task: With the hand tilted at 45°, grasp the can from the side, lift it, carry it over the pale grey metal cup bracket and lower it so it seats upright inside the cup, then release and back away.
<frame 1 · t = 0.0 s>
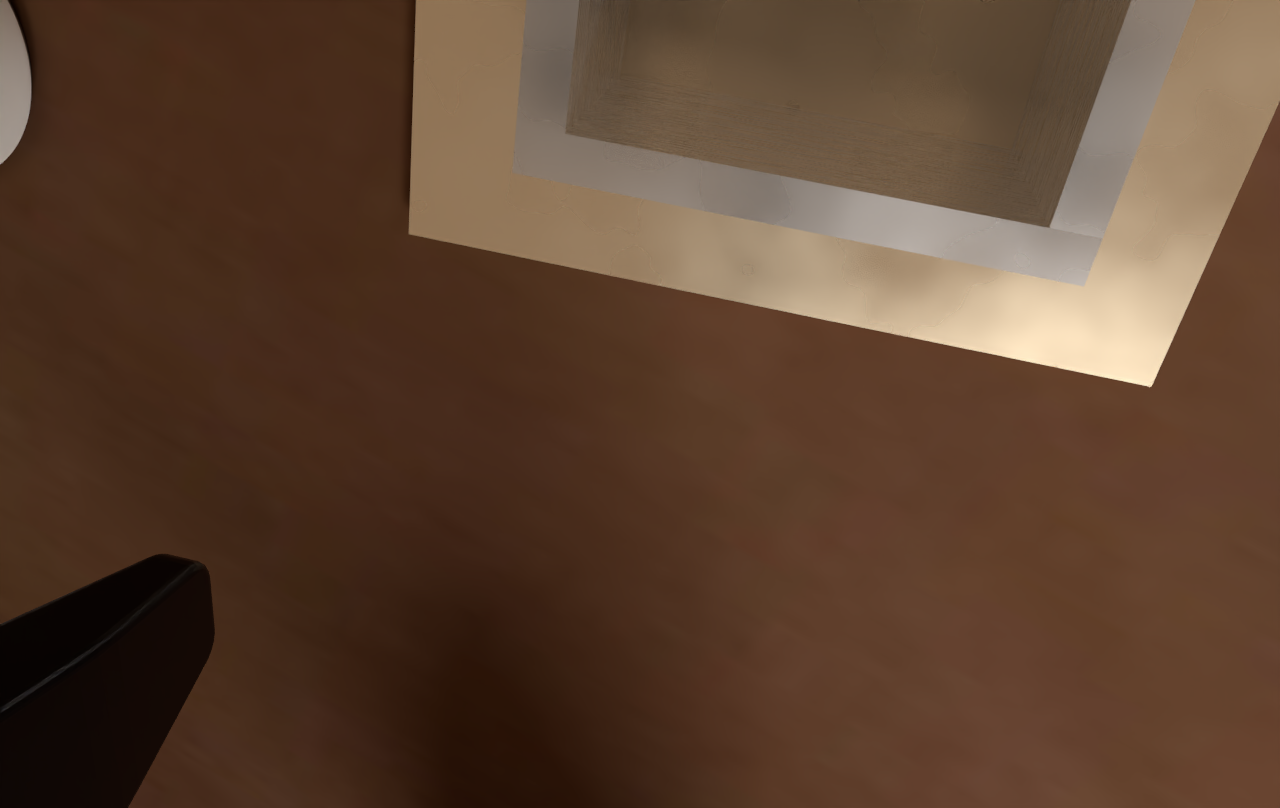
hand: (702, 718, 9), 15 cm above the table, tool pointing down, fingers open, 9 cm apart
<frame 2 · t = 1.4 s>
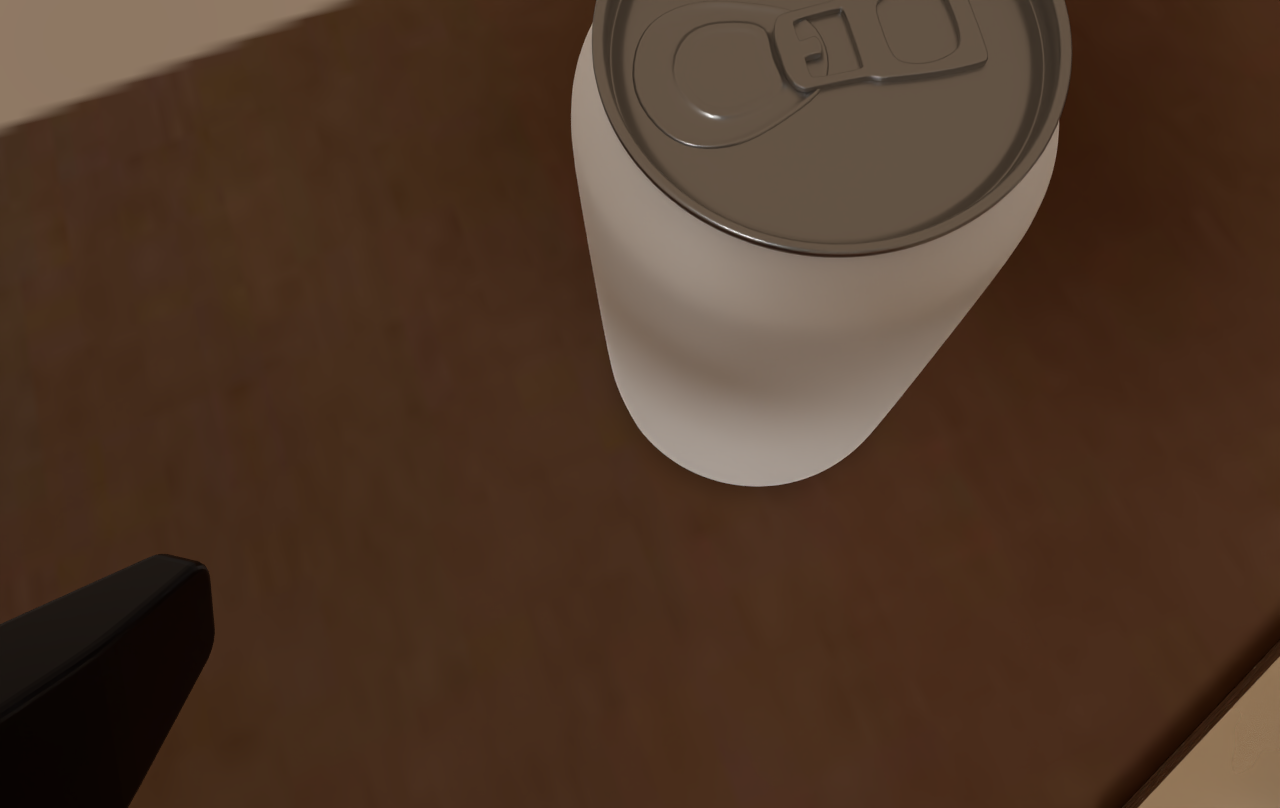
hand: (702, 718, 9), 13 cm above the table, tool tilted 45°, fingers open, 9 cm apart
can: (751, 354, 24), on the table
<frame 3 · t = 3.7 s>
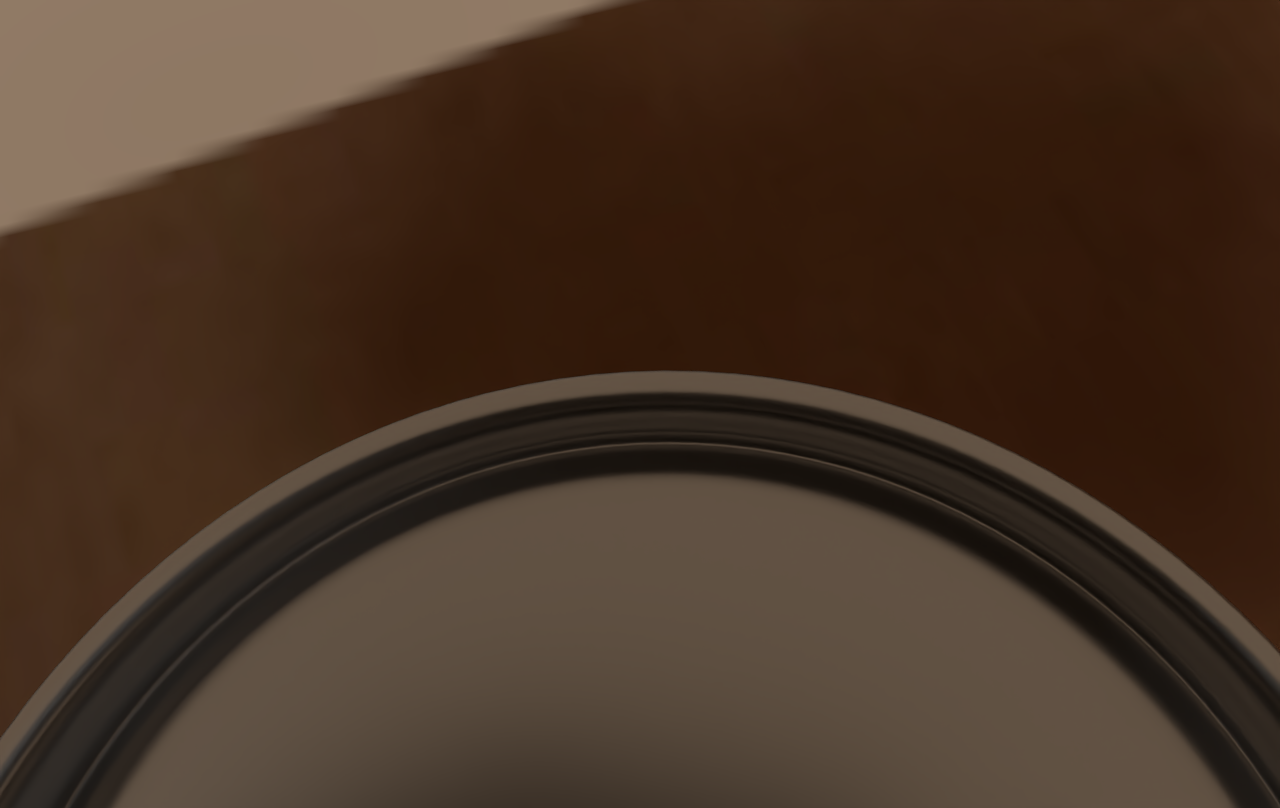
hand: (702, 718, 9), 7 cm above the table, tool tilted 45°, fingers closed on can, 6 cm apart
can: (669, 804, 15), on the table, touching gripper
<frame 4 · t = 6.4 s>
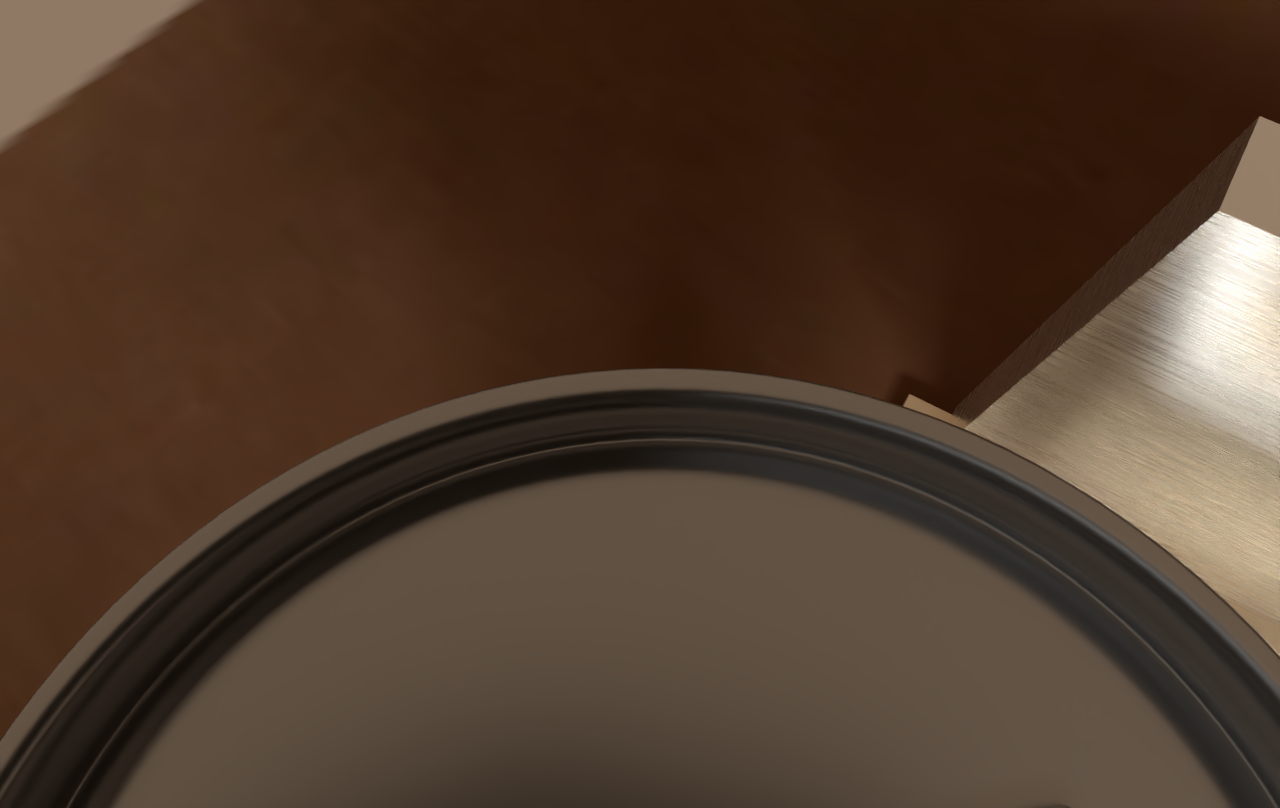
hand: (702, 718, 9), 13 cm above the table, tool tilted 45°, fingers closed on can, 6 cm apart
can: (678, 801, 15), point 6 cm above the table, touching gripper
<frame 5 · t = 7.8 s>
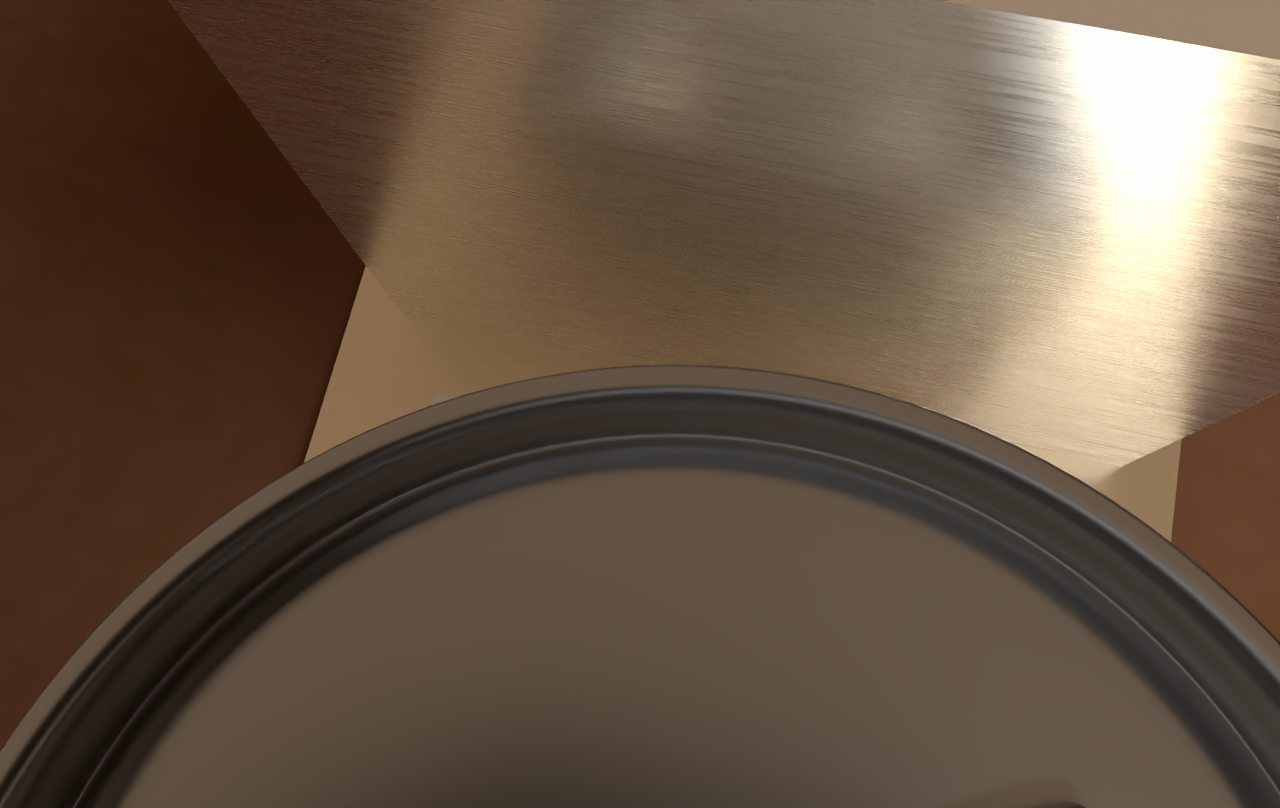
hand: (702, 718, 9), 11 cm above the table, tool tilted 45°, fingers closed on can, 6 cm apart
cup bracket: (672, 761, 19), on the table
can: (681, 800, 15), point 4 cm above the table, touching gripper
when the fingers open (8 cm above the table, at t = 8.8 s): can moves 1 cm, resting on cup bracket.
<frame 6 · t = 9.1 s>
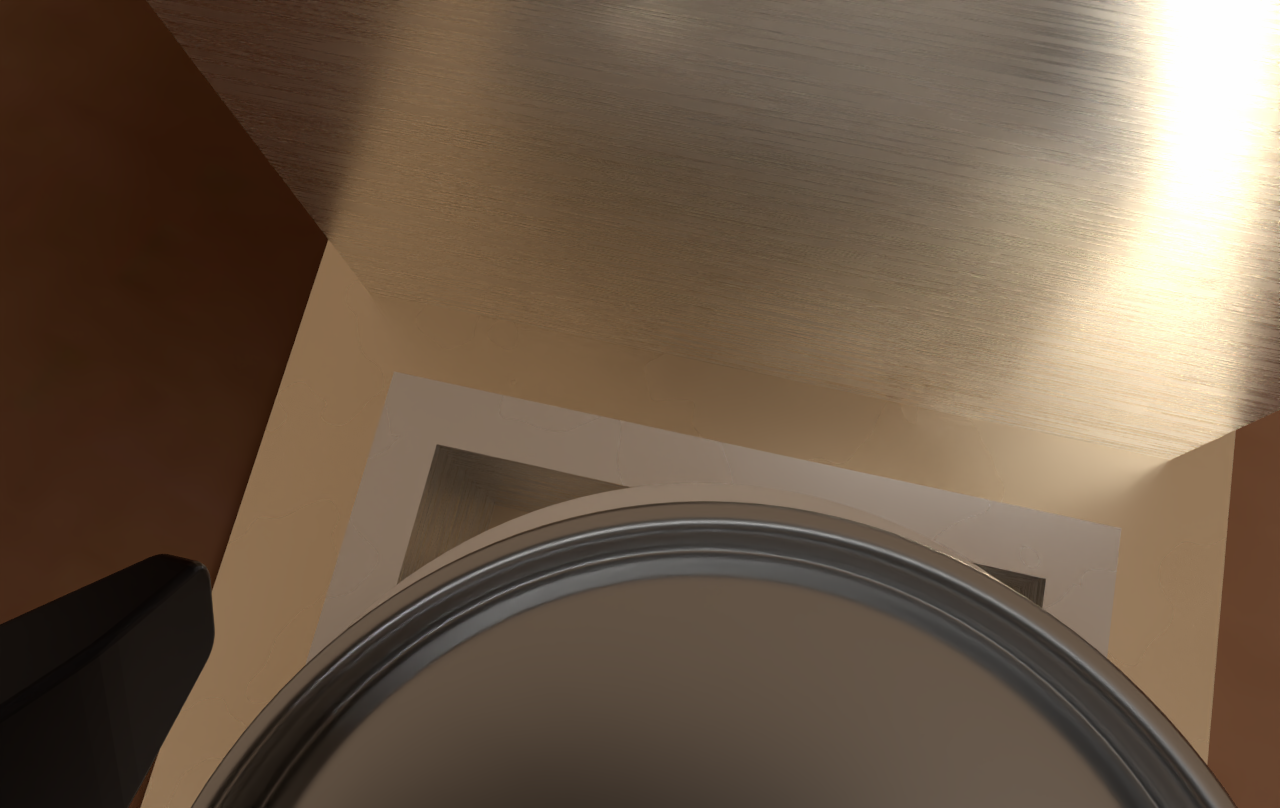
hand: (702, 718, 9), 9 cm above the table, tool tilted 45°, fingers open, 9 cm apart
cup bracket: (667, 791, 17), on the table
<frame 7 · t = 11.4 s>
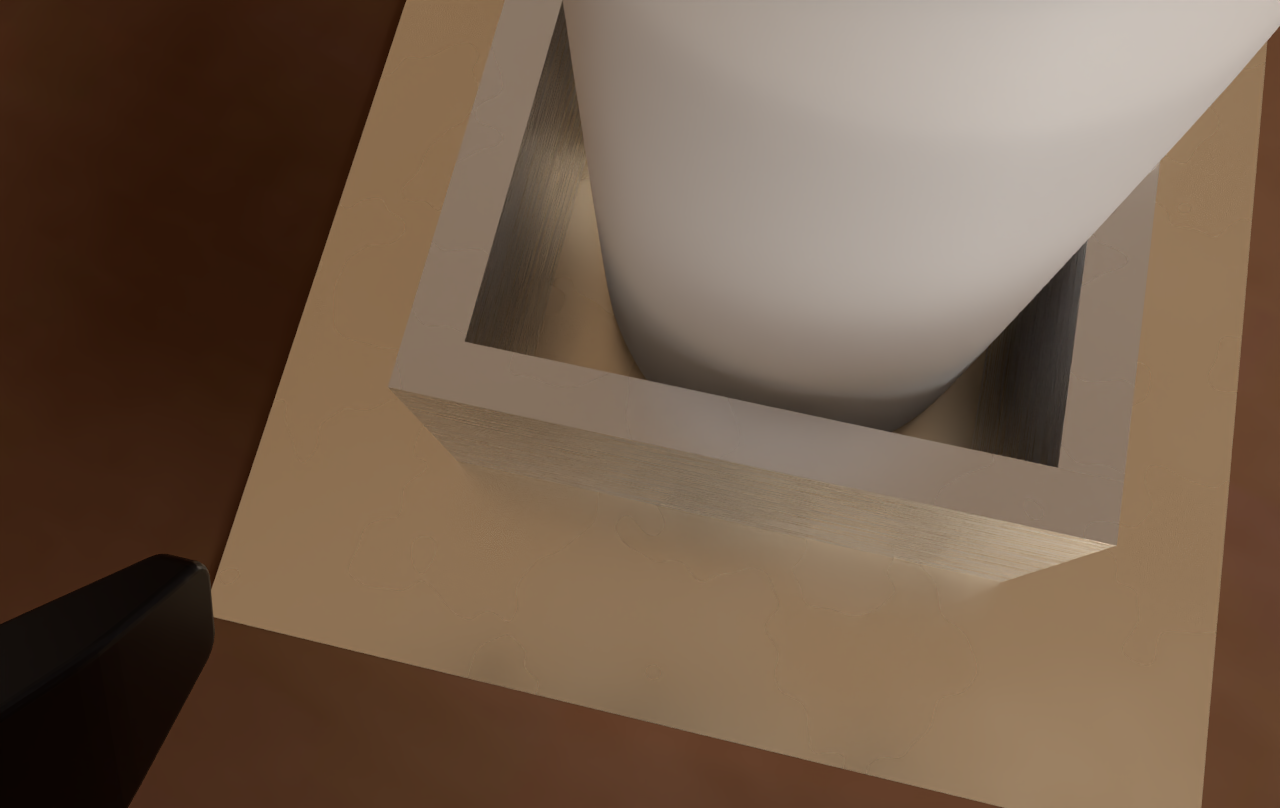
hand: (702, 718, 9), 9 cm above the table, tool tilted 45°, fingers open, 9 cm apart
cup bracket: (773, 280, 19), on the table
can: (791, 285, 19), resting on cup bracket
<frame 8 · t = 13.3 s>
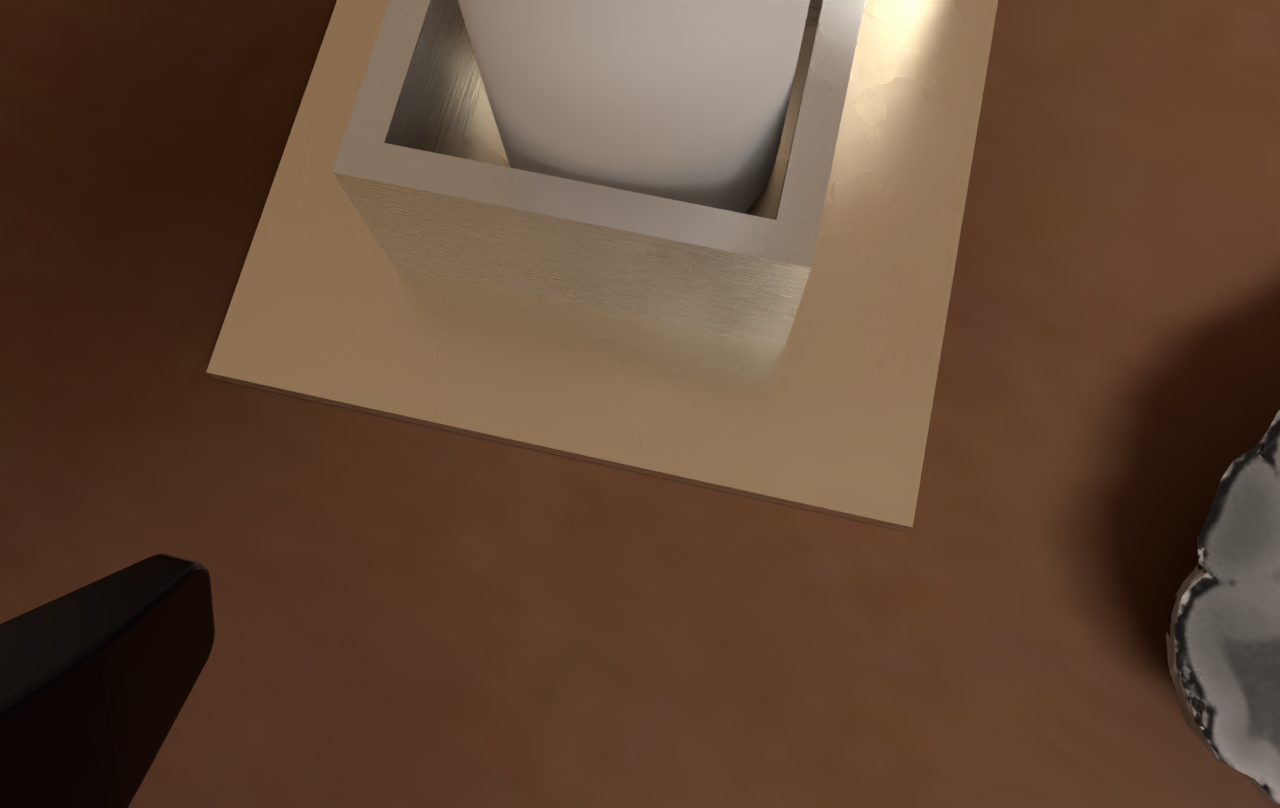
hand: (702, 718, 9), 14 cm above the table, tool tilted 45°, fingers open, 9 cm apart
cup bracket: (632, 141, 25), on the table
can: (642, 142, 25), resting on cup bracket
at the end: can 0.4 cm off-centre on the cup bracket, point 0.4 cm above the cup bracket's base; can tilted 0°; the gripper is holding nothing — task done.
